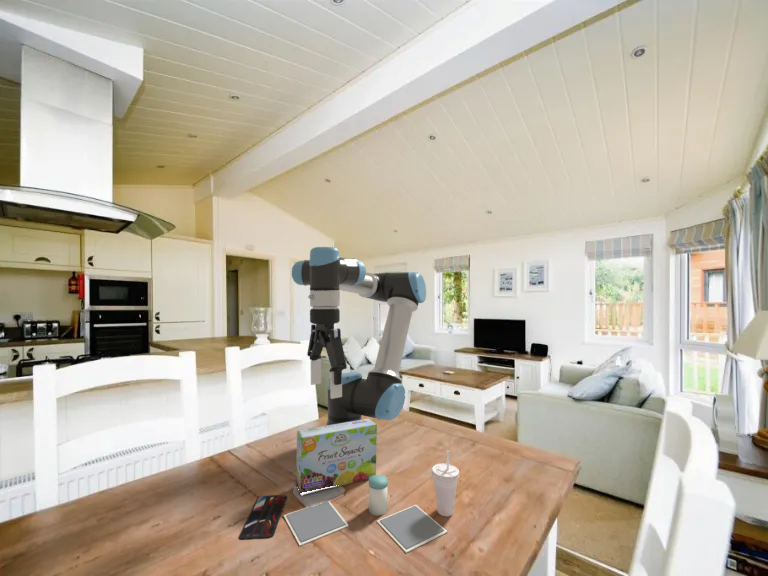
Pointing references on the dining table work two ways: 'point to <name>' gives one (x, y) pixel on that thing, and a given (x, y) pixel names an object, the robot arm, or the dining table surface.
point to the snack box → (336, 454)
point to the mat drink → (411, 528)
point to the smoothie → (445, 486)
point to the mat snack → (314, 522)
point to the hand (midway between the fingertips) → (325, 390)
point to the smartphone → (263, 517)
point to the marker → (378, 495)
